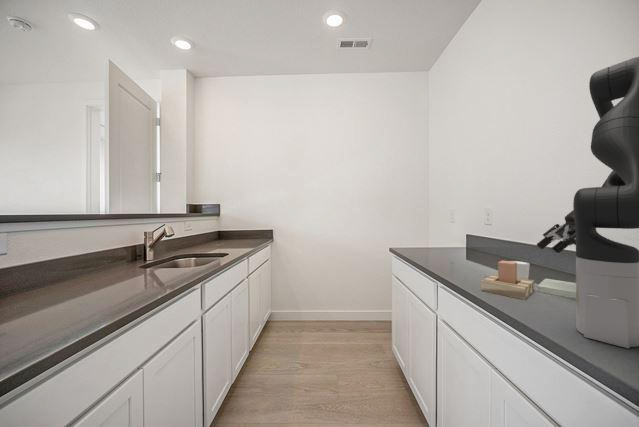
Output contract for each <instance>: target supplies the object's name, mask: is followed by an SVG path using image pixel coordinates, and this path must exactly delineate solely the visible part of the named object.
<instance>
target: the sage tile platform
mask: <svg viewBox="0 0 639 427" xmlns="http://www.w3.org/2000/svg"><path fill="white" fill-rule="evenodd" d="M537 293H544V294H547V295H548V294H549V295H555V296H559V297H564V298H565V297H566V298H571V299H574V300H576V282H571V281H564V280H557V279H552V278H544V279H543V280H542V281H541V282H540V283H539V284H538V285H537Z"/></svg>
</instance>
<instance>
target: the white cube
mask: <svg viewBox="0 0 639 427" xmlns="http://www.w3.org/2000/svg"><path fill="white" fill-rule="evenodd" d="M510 262H517V278H522V279H529V274H530V268H531V266H530V265H531V264H530V262H525V261H519V260H510Z"/></svg>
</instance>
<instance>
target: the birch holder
mask: <svg viewBox="0 0 639 427" xmlns="http://www.w3.org/2000/svg"><path fill="white" fill-rule="evenodd" d="M480 288H481V289H480V291H482V292H486V293H491V294H495V295H500V296H505V297H511V298H515V299H519V300H526V299H527V298H529V296H531V294H533V293H534V292H535V289H536V288H535V280H534V279H529V278H528V279H522V278H517V284H512V283H506V282H500V281H498V273H497V274H495V273H493V274H491V275H489V276H488V277H486V278H484V279H481V281H480Z"/></svg>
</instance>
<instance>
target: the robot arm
mask: <svg viewBox="0 0 639 427" xmlns="http://www.w3.org/2000/svg"><path fill="white" fill-rule="evenodd" d="M588 86H589V94H590V97H591V98H590V99H591V100H592V102H593V105H594V108H595V109H596V113H597V114H598V117H599V120H598V121H597V122H596V123H595V125H594V127H593V128H592V134H591V142H590V152H591V153H592V155H593V156H594V157H595V158H596V159H597V160H598V161H599V162H601V163H602V164H604V165H605V166H606V167H607V168H609V169H611V170H612V171H611V172H610V173H609V175H608V176H607V178H606V179H605V181H604V182H603V184H602V185H601V186H596V187H594V186H593V187H583V188H580V189H578V190H577V191H576V192H575V194H574V196H573V205H572V206H573V209H572V210H571V211H570V212H569V213H568V214H566V215H565V216H564V221H565V222H564V223H563V224H561V225H560V224H558V223H556V224H554V225H553V226H552V227H551V228H549V229H548V230H547V231H546V232H544V233H543V234H542V236H543V239H541V240H540V241H538V243H536V247H537V248H539V249H541V250H543V249H545V248H546V247H548V246H549V245H550V244H552V242H554V241H556V240H558V242H557V243H556V244H555V245H553V246H552V247H551V250H553V252H555V253H557V254H559V253H561V252H562V251H564V250H565V249H566V248H568V246H572V245H574V246H575V283H576V299H575V311H576V312H575V313H576V314H575V316H576V331H578V332H579V333H581V334H582V335H583V337H585V338H586V339H591V340H595V341H599V342H602V343H606V344H610V345H614V346H617V347H621V348H625V349H630V348H634V347H639V249H638V248H636V247H634V246H632V245H629V244H625V243H621V242H618V241H615V240H612V239H610V238H607V237H605V236H603V235H601V233H599V232H598V231H597V229H617V230H618V229H621V230H623V229H624V230H626V229H627V230H631V229H632V230H633V229H636V230H637V229H639V56H636V57H632V58H630V59H627V60H624V61H621V62H618V63H616V64H612V65H611V66H608V67H605V68H602V69H599V70H597V71H595V72H594V73H593V74H592V75H590V79H589V85H588ZM619 99H621V100H619ZM615 100H619V102H618V103H617V104H615V105H614V104H613V102H612V101H615ZM559 240H560V241H559Z"/></svg>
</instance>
